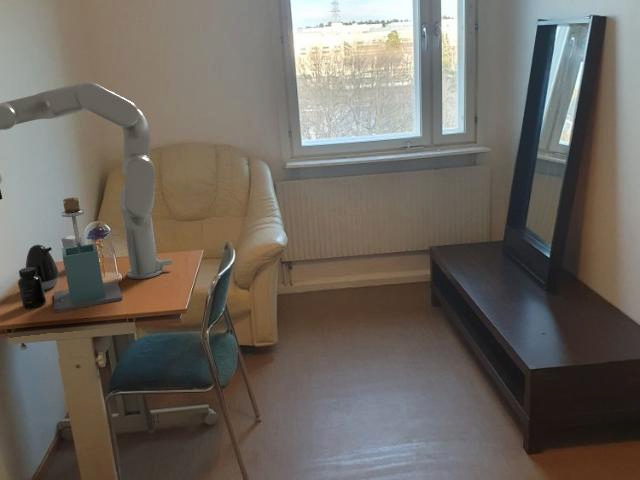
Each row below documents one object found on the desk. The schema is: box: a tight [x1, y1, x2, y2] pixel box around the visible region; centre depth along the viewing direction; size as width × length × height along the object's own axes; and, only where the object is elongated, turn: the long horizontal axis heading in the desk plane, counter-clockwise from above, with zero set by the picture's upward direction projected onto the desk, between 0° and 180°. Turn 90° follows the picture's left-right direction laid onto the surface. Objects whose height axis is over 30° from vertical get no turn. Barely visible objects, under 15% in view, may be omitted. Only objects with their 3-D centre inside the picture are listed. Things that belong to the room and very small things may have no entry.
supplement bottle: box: [17, 267, 47, 310], centre depth 203 cm, size 7×7×12 cm
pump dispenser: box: [25, 244, 60, 291], centre depth 218 cm, size 10×10×15 cm
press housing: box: [53, 242, 123, 314], centre depth 206 cm, size 20×17×16 cm
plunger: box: [61, 197, 85, 254], centre depth 202 cm, size 7×7×22 cm
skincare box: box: [61, 235, 84, 248], centre depth 236 cm, size 6×4×12 cm
